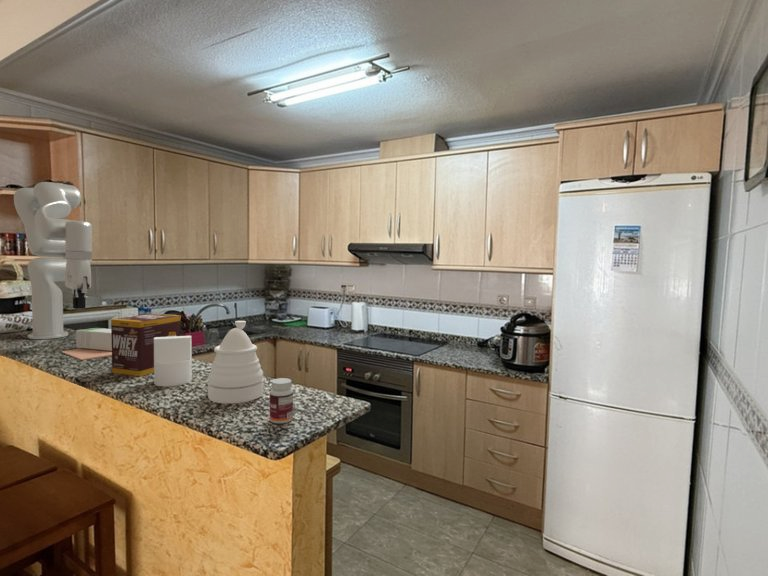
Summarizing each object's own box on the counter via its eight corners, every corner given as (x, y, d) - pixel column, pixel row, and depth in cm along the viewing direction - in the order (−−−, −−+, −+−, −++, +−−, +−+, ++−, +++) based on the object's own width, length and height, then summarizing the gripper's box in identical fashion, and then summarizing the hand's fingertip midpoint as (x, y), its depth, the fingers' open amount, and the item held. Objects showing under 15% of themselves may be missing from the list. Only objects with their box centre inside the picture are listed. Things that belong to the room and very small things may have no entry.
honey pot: (226, 384, 110) (226, 317, 109) (271, 388, 108) (272, 320, 106) (196, 400, 97) (196, 325, 96) (247, 405, 95) (247, 328, 94)
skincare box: (96, 327, 152) (132, 329, 149) (95, 345, 152) (132, 347, 149) (74, 330, 143) (113, 332, 140) (74, 349, 144) (113, 351, 141)
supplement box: (110, 373, 118) (109, 318, 117) (155, 361, 132) (154, 312, 131) (139, 377, 115) (138, 321, 114) (181, 364, 129) (181, 314, 128)
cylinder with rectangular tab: (191, 375, 118) (191, 333, 117) (191, 384, 109) (191, 339, 109) (155, 378, 114) (155, 335, 113) (152, 387, 106) (152, 341, 105)
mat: (61, 352, 140) (61, 351, 140) (104, 346, 151) (104, 345, 151) (81, 360, 130) (81, 359, 130) (126, 353, 141) (126, 352, 141)
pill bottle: (266, 417, 88) (267, 379, 87) (288, 414, 90) (288, 376, 90) (273, 425, 84) (273, 385, 83) (295, 421, 86) (296, 382, 86)
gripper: (58, 254, 146) (58, 306, 147) (74, 257, 137) (75, 312, 139) (82, 255, 152) (83, 304, 153) (100, 258, 143) (100, 310, 145)
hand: (79, 308), depth 146 cm, fingers closed
